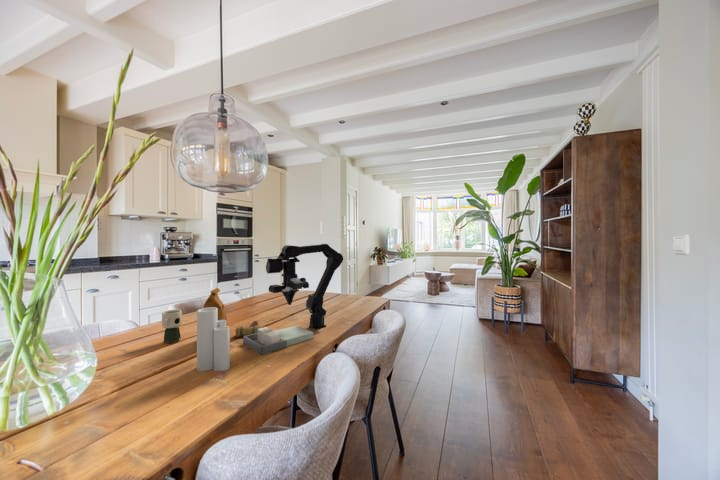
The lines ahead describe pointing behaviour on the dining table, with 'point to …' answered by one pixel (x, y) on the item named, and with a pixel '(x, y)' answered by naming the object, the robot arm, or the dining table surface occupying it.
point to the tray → (262, 344)
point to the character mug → (171, 325)
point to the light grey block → (271, 338)
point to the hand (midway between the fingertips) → (289, 304)
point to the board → (294, 334)
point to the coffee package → (216, 304)
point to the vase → (212, 341)
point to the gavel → (247, 330)
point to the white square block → (263, 334)
